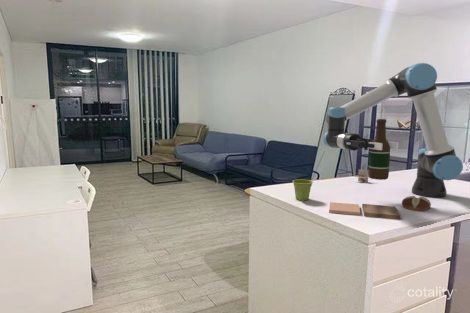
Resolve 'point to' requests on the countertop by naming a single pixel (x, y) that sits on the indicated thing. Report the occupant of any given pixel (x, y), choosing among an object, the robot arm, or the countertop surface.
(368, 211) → the walnut board
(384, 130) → the beer bottle
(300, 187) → the plant pot
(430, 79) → the robot arm
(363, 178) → the architectural model
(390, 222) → the countertop surface
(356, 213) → the terracotta tile
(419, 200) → the bread
